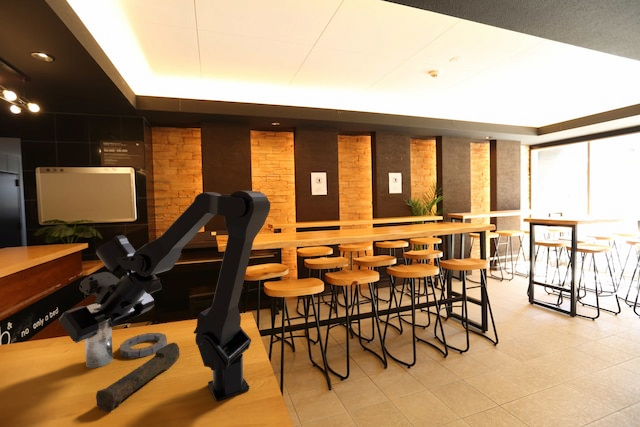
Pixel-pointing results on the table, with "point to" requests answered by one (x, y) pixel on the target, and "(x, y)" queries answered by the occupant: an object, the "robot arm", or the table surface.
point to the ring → (145, 351)
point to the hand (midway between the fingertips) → (93, 333)
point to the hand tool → (137, 377)
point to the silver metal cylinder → (99, 343)
